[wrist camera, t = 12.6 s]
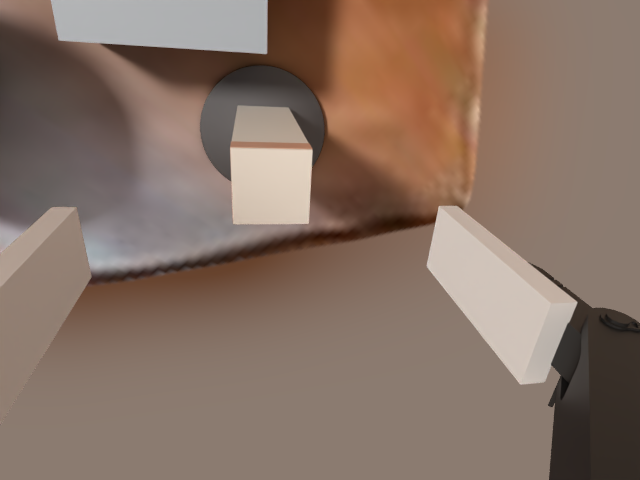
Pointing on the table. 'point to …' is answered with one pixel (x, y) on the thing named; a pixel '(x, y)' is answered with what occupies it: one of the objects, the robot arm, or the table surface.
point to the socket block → (166, 23)
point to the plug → (269, 167)
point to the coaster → (257, 90)
